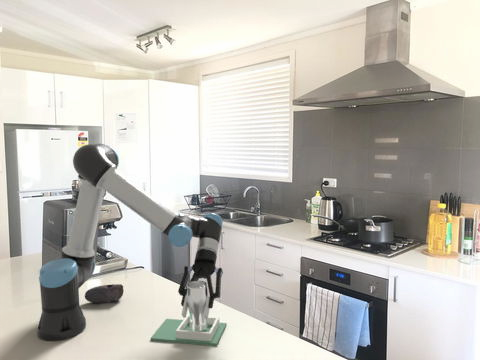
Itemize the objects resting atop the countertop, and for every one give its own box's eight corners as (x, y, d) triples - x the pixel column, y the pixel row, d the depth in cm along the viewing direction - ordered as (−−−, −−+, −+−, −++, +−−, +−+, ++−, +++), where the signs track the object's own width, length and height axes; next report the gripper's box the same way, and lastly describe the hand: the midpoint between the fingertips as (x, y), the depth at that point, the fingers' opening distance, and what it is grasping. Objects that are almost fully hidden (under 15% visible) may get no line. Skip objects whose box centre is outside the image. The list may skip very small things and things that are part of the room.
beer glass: (199, 320, 136) (197, 278, 135) (213, 326, 132) (211, 283, 130) (183, 328, 131) (181, 284, 129) (197, 334, 127) (195, 290, 125)
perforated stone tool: (82, 305, 155) (81, 288, 155) (87, 300, 161) (86, 283, 160) (121, 304, 156) (120, 287, 156) (124, 298, 161) (123, 282, 161)
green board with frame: (150, 340, 127) (150, 330, 127) (166, 320, 141) (166, 311, 141) (216, 346, 123) (216, 335, 123) (226, 325, 137) (226, 316, 137)
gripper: (235, 259, 143) (226, 323, 128) (183, 257, 146) (168, 318, 132) (232, 249, 137) (222, 314, 123) (178, 247, 140) (162, 310, 126)
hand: (194, 316), depth 127 cm, fingers closed on beer glass, 7 cm apart
